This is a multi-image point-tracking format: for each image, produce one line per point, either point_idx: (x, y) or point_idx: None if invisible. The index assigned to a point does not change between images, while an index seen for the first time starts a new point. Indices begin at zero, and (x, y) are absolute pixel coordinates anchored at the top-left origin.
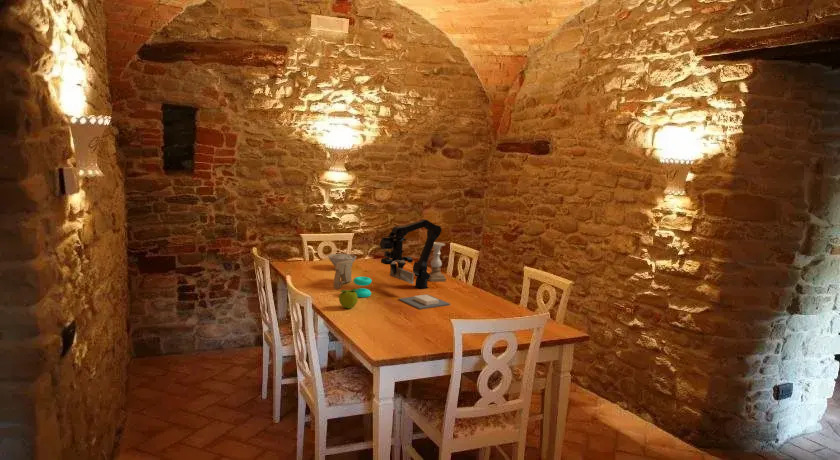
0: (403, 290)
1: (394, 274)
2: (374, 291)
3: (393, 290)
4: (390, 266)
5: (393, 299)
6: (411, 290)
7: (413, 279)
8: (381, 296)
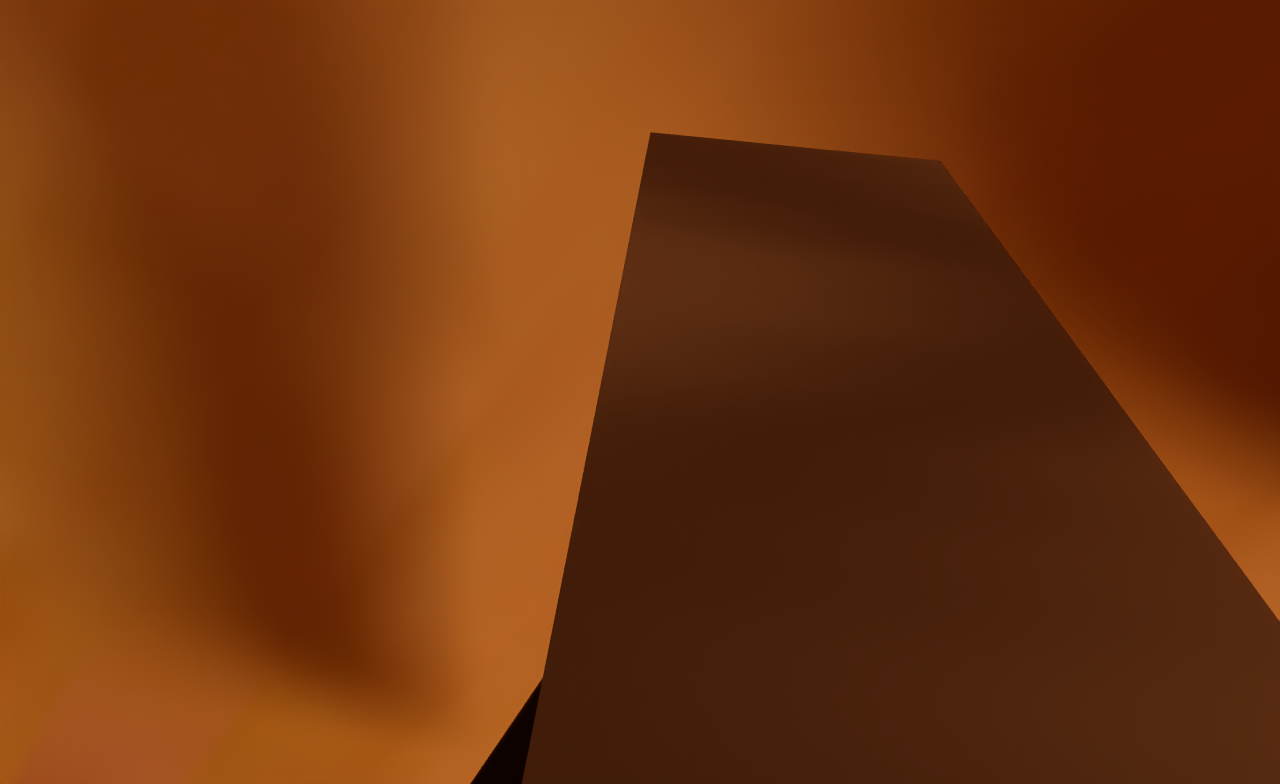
0: None
1: None
2: (3, 101)
3: None
4: (546, 696)
5: (238, 757)
6: None
7: None
8: (69, 549)
